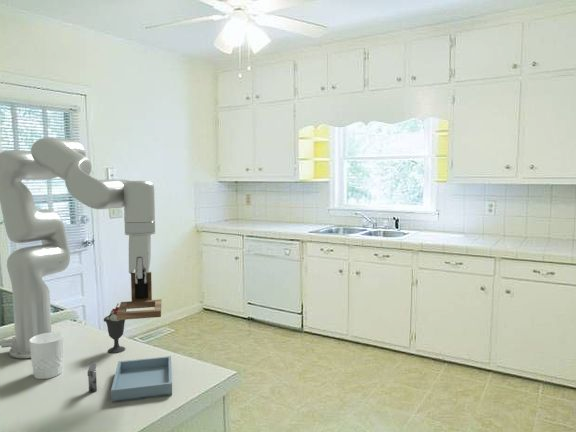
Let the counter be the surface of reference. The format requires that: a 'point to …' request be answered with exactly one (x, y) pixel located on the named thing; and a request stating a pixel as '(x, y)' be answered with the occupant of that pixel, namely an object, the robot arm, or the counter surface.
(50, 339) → the white cup
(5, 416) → the counter surface
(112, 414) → the counter surface
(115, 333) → the sundae
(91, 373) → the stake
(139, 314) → the ring
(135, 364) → the tray
